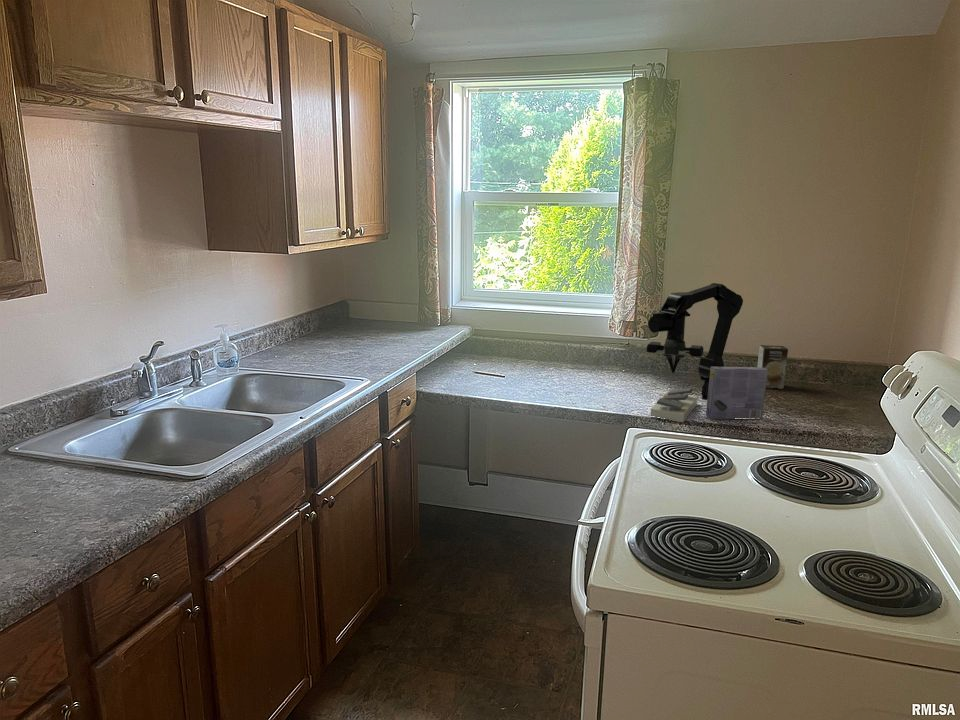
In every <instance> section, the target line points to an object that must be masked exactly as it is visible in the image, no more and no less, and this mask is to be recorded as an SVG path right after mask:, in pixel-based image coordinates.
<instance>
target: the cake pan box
mask: <svg viewBox="0 0 960 720" xmlns="http://www.w3.org/2000/svg"><path fill="white" fill-rule="evenodd" d="M767 375H768V369H765V368H762V367H757V366H756V367H755V366H754V367H751V366H747V367H745V366H724V367H711V368H710V378H709V388H708V398H707V399H706V409H705V410H706V411H705V416H706V417H707V418H708V419H709V418H710V419H709V420H711V419H713V420H729V419H735V418H760V419H762V420H763V417H764V416H763V414H764V408H765V406H764V404H765V398H766V389H767V388H766V382H767Z"/></svg>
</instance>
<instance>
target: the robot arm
mask: <svg viewBox="0 0 960 720" xmlns="http://www.w3.org/2000/svg"><path fill="white" fill-rule="evenodd" d="M711 298H712V299H713V300H714V301H716V302H717V303H716V310H717V315H718V317H717V320H716V324H715V329H714V331H713V335H712V339H711V342H710V347H709V350H708V353H707V354H706V355H705V356H703V355H704V347H703V345H694V344H691V346H689V347H687V346H686V341H685V331H686V329H685V328H686V327H685V326H686V317H691V313H689V311H688V310H689V309H691V308H692V307H693V306H694V305H695V304H697V303H700V302H703V301H706V300H709V299H711ZM743 303H744V299H743V297H742V295H740V294H737V292H735V291H733V290H732V289H729V288H728V287H727V286H726V285H724V283H719V282H718V283H717V282H712V283H711V284H709V285H706V286H702V287H700V288H699V287H698V288H697V289H692V290H690V291H685V292H681V291H679V292H678V291H677V292H671V293H669V294H668V295H667V298H666V299H665V301H664V302H663V304H662V306H661V308H660V309H659V312H653V313H652V316H651V317H650V318H649V320H648V322H647V323H648V324H647V326H648V329H649V330H650V332H652V333H653V334H654V333H663V332H667V333H666V338H665V340H664V344H663V345H662V342H660V341H659V342H658V341H650V342H649V343H648V344H647V345H646V352H647V353H652V354H656V353H657V352H658V351H661V352H663V354H662V356H663V357H666V359H667V360H668V363H669V367H670V369H671V373H672V374H675V373H676V371H677V368H678V366H679V363H680V362H681V359H682V358H685V357H686V356H687V354H688V355H690V357H698V358H700V359H699V363H698V366H697V368H698V373H699V379H700V380H701V381H704V382H703V384H702V386H701V399H703V400H707V398H708V388H709V378H710V368H711V367H725V363H724V359H723V355H724V352H725V349H726V345H727V341H728V336H729V334H730V329H731V326H732V322H733V319H735V317H736V316H737V315H738V314H739V313H740V311H741V309H742V307H743Z"/></svg>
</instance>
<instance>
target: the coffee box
mask: <svg viewBox="0 0 960 720" xmlns="http://www.w3.org/2000/svg"><path fill="white" fill-rule="evenodd" d="M788 354H789V349H788V347H786V346H783V345H769V344H767V345H766V344H759V350H758V358H757V365H756V367H762V368H765V369H768V375H767V382H766V389H773V388H778V389H779V390H783V389H784V385H785V377H786V368H787V361H788Z"/></svg>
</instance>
